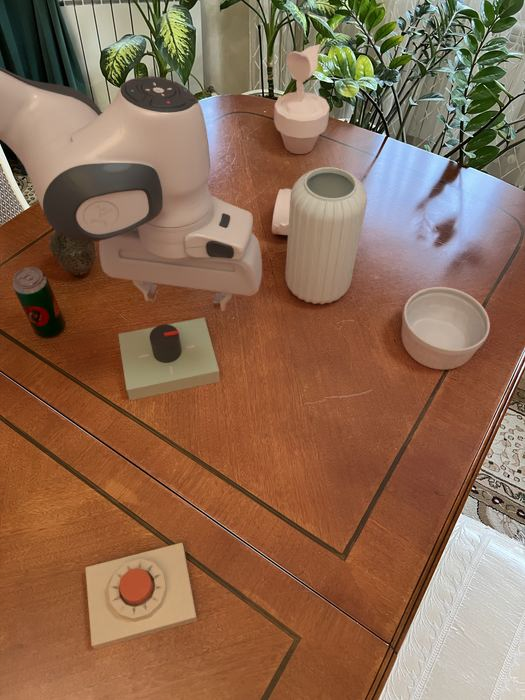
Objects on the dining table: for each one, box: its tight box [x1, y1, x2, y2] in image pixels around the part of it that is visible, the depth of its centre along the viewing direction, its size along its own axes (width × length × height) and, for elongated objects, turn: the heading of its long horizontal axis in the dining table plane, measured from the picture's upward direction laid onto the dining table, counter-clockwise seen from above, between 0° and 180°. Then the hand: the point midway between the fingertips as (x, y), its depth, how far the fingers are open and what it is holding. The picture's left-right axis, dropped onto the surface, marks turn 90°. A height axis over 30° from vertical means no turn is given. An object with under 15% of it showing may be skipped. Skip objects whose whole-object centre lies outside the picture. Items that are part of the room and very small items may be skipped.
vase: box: [284, 166, 368, 305], centre depth 93 cm, size 12×12×22 cm
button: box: [119, 568, 153, 604], centre depth 66 cm, size 4×4×2 cm
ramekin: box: [401, 286, 491, 371], centre depth 92 cm, size 13×13×7 cm
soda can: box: [12, 266, 66, 339], centre depth 90 cm, size 5×5×12 cm
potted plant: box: [273, 41, 330, 155], centre depth 118 cm, size 13×12×25 cm
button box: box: [85, 542, 198, 650], centre depth 68 cm, size 12×9×4 cm
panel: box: [117, 317, 221, 402], centre depth 90 cm, size 14×11×3 cm
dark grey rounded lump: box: [47, 229, 96, 278], centre depth 100 cm, size 8×7×8 cm
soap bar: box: [271, 187, 292, 236], centre depth 108 cm, size 12×9×8 cm
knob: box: [150, 324, 182, 363], centre depth 87 cm, size 4×4×4 cm
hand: (186, 302), depth 77 cm, fingers open, 8 cm apart
